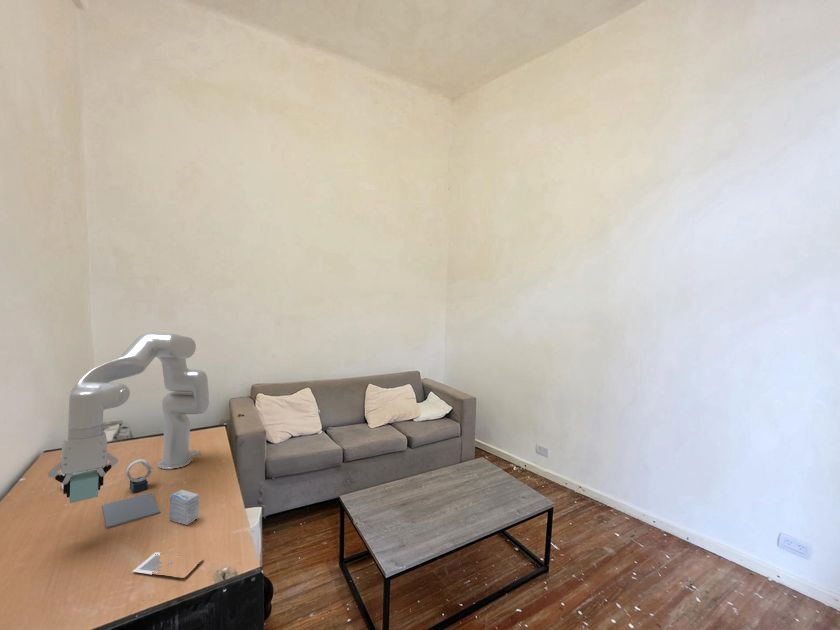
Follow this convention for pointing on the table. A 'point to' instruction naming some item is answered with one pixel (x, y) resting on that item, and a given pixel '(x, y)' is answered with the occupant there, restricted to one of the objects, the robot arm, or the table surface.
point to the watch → (140, 482)
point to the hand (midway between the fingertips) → (83, 491)
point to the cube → (83, 486)
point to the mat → (129, 509)
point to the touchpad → (150, 564)
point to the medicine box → (184, 506)
